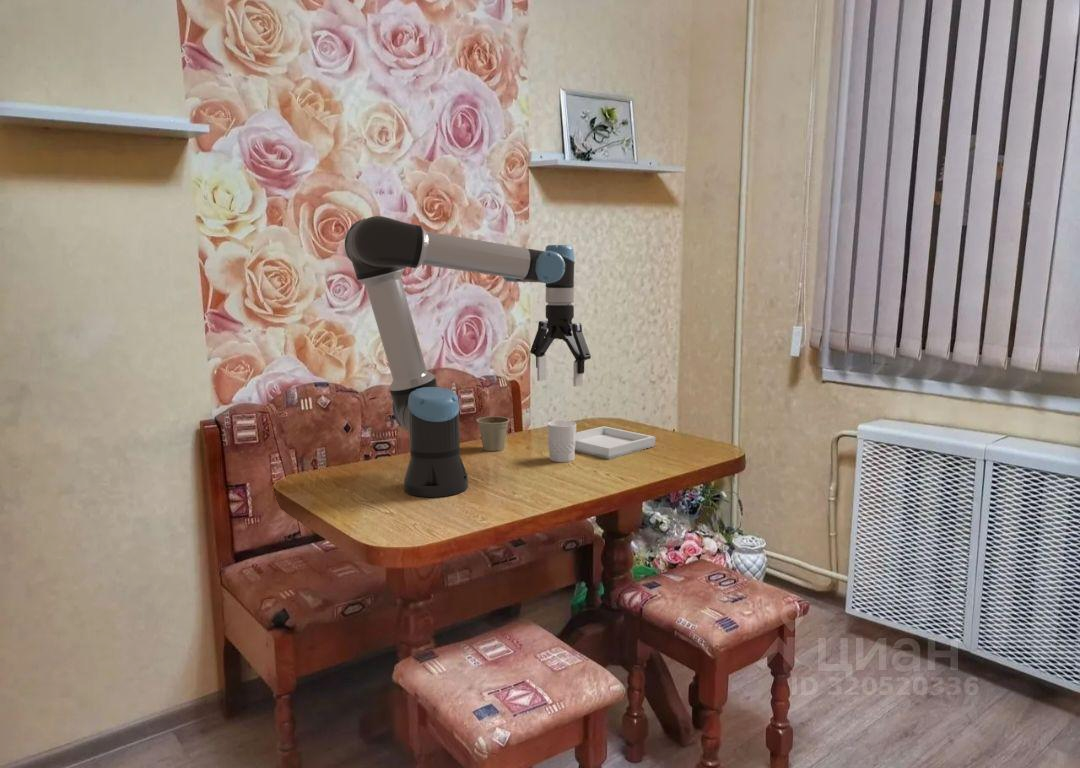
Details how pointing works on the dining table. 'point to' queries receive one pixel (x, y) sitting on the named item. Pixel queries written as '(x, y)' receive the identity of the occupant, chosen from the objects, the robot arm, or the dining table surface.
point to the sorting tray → (611, 442)
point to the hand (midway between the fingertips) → (559, 383)
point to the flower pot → (493, 432)
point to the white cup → (561, 440)
